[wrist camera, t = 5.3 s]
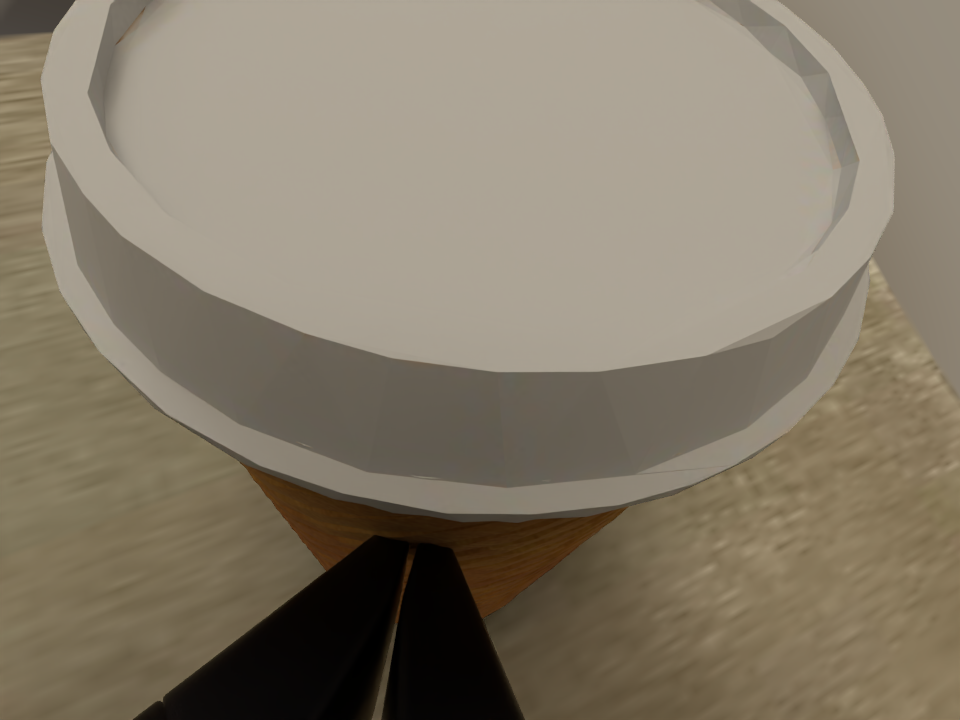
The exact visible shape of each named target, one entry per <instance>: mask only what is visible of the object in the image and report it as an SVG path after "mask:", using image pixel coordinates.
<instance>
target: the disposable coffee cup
mask: <svg viewBox="0 0 960 720" xmlns="http://www.w3.org/2000/svg"><path fill="white" fill-rule="evenodd" d="M41 85H42V92H43V98H44V104H45V111H46V117H47V124H48V130H49V137H50V143H51V147H52V151H51V154H50V156H49V158H48V160H47V162H46V176H45V189H44V203H43V217H42V231H43V235H44V238H45V242H46V245H47V249H48V252H49V256H50V259H51V262H52V266H53V269H54V273H55V276H56V280H57V283H58V287H59V290H60V293H61V294H62V296H63V297H64V299H65V301H66V302H67V304H68V306H69V307H70V309H71V310H72V312H73V314H74V315H75V317H76V318H77V320H78V322H79V323H80V325H81V326H82V328H83V330H84V331H85V333H86V334H87V335H88V337H89V338H90V339H91V341H92V342H93V344H94V345H95V346H96V348H97V349H98V350H99V352H100V353H101V354H102V355H103V356H104V357H105V358H106V359H107V360H108V361H109V362H110V363H111V364H112V365H113V366H114V367H115V368H116V369H117V370H118V371H119V372H120V373H121V374H122V375H123V376H124V378H125V379H126V380H127V381H128V382H129V383H130V384H131V385H132V386H133V387H134V388H135V389H136V390H137V391H138V392H139V393H140V394H141V395H142V396H143V397H144V398H145V399H146V400H147V401H148V402H149V403H150V404H151V405H152V406H153V407H154V408H155V409H156V410H158V411H159V412H161V413H163V414H164V415H166V416H168V417H169V418H171V419H172V420H174V421H176V422H177V423H179V424H180V425H182V426H184V427H185V428H187V429H188V430H190V431H192V432H193V433H195V434H196V435H198V436H200V437H201V438H203V439H204V440H206V441H208V442H209V443H211V444H212V445H214V446H216V447H217V448H219V449H220V450H222V451H224V452H225V453H227V454H228V455H230V456H232V457H233V458H235V459H237V460H238V461H239V462H240V463H241V464H242V465H243V466H244V467H245V468H246V469H247V470H248V472H249V473H250V475H251V476H252V478H253V479H254V481H255V482H256V483H257V484H259V486H260V487H261V489H262V490H263V492H264V493H265V495H266V496H267V497H268V498H269V499H270V500H271V501H272V502H273V504H274V506H275V507H276V509H277V510H278V511H279V512H280V513H281V514H282V516H283V517H284V518H285V519H286V520H287V521H288V523H289V524H290V526H291V527H292V529H293V530H294V531H295V532H296V533H297V534H298V536H299V537H300V539H301V540H302V542H303V543H304V544H306V546H307V547H308V549H309V550H310V551H311V552H312V553H313V555H314V556H315V557H316V558H317V559H318V561H319V562H320V564H321V565H322V566H323V567H324V569H325V570H326V571H327V570H329V569H330V568H331V567H333V566H334V565H335V564H337V563H338V562H339V561H340V560H342V559H343V558H344V557H346V556H347V555H348V554H350V553H351V552H352V551H353V550H355V549H356V548H357V547H359V546H360V545H361V544H363V543H364V542H365V541H366V540H368V539H369V538H370V537H372V536H373V535H378V536H381V537H385V538H389V539H394V540H402V541H407V542H409V544H410V545H409V552H408V558H407V564H406V570H405V576H404V582H403V588H402V593H401V599H400V603H399V608H398V612H397V616H396V621H395V623H397V624H398V619H399V613H400V608H401V603H402V598H403V594H404V590H405V587H406V583H407V580H408V577H409V573H410V570H411V566H412V563H413V559H414V556H415V552H416V549H417V546H418V544H419V543H431V544H435V545H438V546H441V547H448V548H452V549H453V551H454V553H455V555H456V558H457V560H458V562H459V565H460V567H461V569H462V572H463V574H464V577H465V579H466V581H467V584H468V586H469V588H470V591H471V593H472V596H473V598H474V600H475V603H476V605H477V607H478V610H479V612H480V614H481V617H482V618H484V617H486V616H487V615H489V614H491V613H493V612H495V611H496V610H498V609H500V608H501V607H503V606H505V605H506V604H508V603H509V602H510V601H511V600H512V599H513V598H514V597H516V596H517V595H518V594H519V593H520V592H521V591H523V590H524V589H526V588H527V587H528V586H529V585H531V584H532V583H533V582H535V581H536V580H537V579H538V578H539V577H541V576H542V575H543V574H545V573H546V572H548V571H549V570H551V569H552V568H553V567H554V566H555V565H557V564H558V563H559V562H560V561H561V560H562V559H564V558H565V557H566V556H567V555H569V554H570V553H571V552H572V551H573V550H575V549H576V548H577V547H578V546H579V545H580V544H582V543H583V542H584V541H586V540H587V539H589V538H590V537H591V536H593V535H594V534H595V533H597V532H598V531H599V530H600V529H601V528H602V527H604V526H605V525H607V524H608V523H610V522H611V521H613V520H614V519H615V518H616V517H617V516H618V515H620V514H621V513H622V512H623V511H624V510H625V509H626V508H628V507H629V506H632V505H636V504H640V503H644V502H648V501H652V500H656V499H660V498H664V497H668V496H672V495H675V494H677V493H679V492H681V491H683V490H685V489H687V488H690V487H692V486H694V485H696V484H698V483H700V482H702V481H704V480H707V479H709V478H711V477H713V476H715V475H717V474H719V473H721V472H724V471H726V470H728V469H730V468H732V467H734V466H736V465H738V464H741V463H743V462H745V461H747V460H749V459H751V458H753V457H754V456H756V455H757V454H758V453H760V452H761V451H763V450H764V449H765V448H767V447H768V446H769V445H771V444H772V443H774V442H775V441H776V440H778V439H779V438H780V437H782V436H783V435H785V434H786V433H787V432H788V431H789V430H790V429H791V428H792V427H793V426H794V425H795V424H796V423H797V422H798V421H799V420H800V419H801V418H802V417H803V416H804V415H805V414H806V413H807V412H808V411H809V410H810V409H811V408H812V407H813V405H814V404H815V403H816V402H817V401H818V400H819V399H820V398H821V397H822V396H823V395H824V394H825V393H826V392H827V391H828V390H829V389H830V388H831V387H832V386H833V384H834V383H835V381H836V379H837V377H838V375H839V374H840V372H841V370H842V368H843V366H844V365H845V363H846V361H847V359H848V357H849V355H850V354H851V352H852V350H853V348H854V346H855V345H856V343H857V341H858V339H859V334H860V329H861V324H862V319H863V314H864V309H865V304H866V299H867V294H868V289H869V284H870V275H869V261H870V259H871V257H872V255H873V253H874V251H875V249H876V247H877V244H878V243H879V241H880V239H881V236H882V234H883V232H884V230H885V228H886V226H887V224H888V222H889V219H890V218H891V216H892V213H893V211H894V163H895V155H894V151H893V148H892V145H891V142H890V138H889V135H888V132H887V128H886V125H885V122H884V119H883V115H882V114H881V112H880V110H879V108H878V107H877V105H876V103H875V102H874V100H873V98H872V97H871V95H870V93H869V92H868V90H867V88H866V87H865V85H864V84H863V82H862V81H861V80H860V79H859V78H858V76H857V75H856V74H855V73H854V71H853V70H852V69H851V68H850V67H849V65H848V64H847V63H846V62H845V60H844V59H843V58H842V57H841V56H840V54H839V53H838V52H837V51H836V50H835V49H834V47H833V46H832V45H831V44H830V43H829V42H827V41H826V40H825V39H824V38H823V37H821V36H820V35H819V34H818V33H817V32H815V31H814V30H813V29H812V28H811V27H809V26H808V25H807V24H806V23H804V22H803V21H802V20H801V19H800V18H799V17H798V16H796V15H795V14H794V13H793V12H791V11H790V10H789V9H788V8H787V7H786V6H784V5H783V4H782V3H780V2H778V1H777V0H76V1H75V3H74V4H73V5H72V7H71V8H70V9H69V11H68V12H67V13H66V15H65V16H64V17H63V19H62V20H61V21H60V23H59V24H58V26H57V27H56V28H55V30H54V32H53V35H52V39H51V43H50V46H49V50H48V54H47V57H46V61H45V65H44V68H43V72H42V76H41Z"/></svg>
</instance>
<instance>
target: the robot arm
mask: <svg viewBox="0 0 960 720" xmlns="http://www.w3.org/2000/svg"><path fill="white" fill-rule="evenodd" d="M409 545H410V544H409V542H407V541H402V540H394V539H389V538H385V537H381V536H378V535H373V536H372V537H370V538H369V539H368V540H366V541H365V542H364V543H363V544H361V545H360V546H359V547H357V548H356V549H355V550H353V551H352V552H351V553H350V554H348V555H347V556H346V557H344V558H343V559H342V560H340V561H339V562H338V563H337V564H335V565H334V566H333V567H331V568H330V569H329V570H327V571H326V572H325V573H324V574H322V575H321V576H320V577H318V578H317V579H316V580H314V581H313V582H312V583H310V584H309V585H308V586H307V587H305V588H304V589H303V590H301V591H300V592H299V593H297V594H296V595H295V596H294V597H292V598H291V599H290V600H288V601H287V602H286V603H284V604H283V605H282V606H281V607H279V608H278V609H277V610H275V611H274V612H273V613H271V614H270V615H269V616H268V617H266V618H265V619H264V620H262V621H261V622H260V623H258V624H257V625H256V626H254V627H253V628H252V629H251V630H249V631H248V632H247V633H245V634H244V635H243V636H241V637H240V638H239V639H238V640H236V641H235V642H234V643H232V644H231V645H230V646H228V647H227V648H226V649H225V650H223V651H222V652H221V653H219V654H218V655H217V656H215V657H214V658H213V659H212V660H210V661H209V662H208V663H206V664H205V665H204V666H202V667H201V668H200V669H199V670H197V671H196V672H195V673H193V674H192V675H191V676H189V677H188V678H187V679H185V680H184V681H183V682H182V683H180V684H179V685H178V686H176V687H175V688H174V689H172V690H171V691H170V692H169V693H167V694H166V695H165V696H164V698H163V702H161V701H157V702H155V703H154V704H152V705H151V706H150V707H148V708H147V709H146V710H145V711H143V712H142V713H141V714H139V715H138V716H137V717H135V718H134V719H133V720H372V716H373V712H374V709H375V704H376V700H377V696H378V692H379V688H380V683H381V679H382V675H383V671H384V667H385V663H386V658H387V654H388V650H389V646H390V642H391V637H392V633H393V629H394V625H395V621H396V616H397V612H398V608H399V603H400V599H401V593H402V588H403V582H404V576H405V570H406V564H407V558H408V552H409ZM381 720H525V719H524V716H523V714H522V712H521V709H520V707H519V704H518V702H517V700H516V697H515V695H514V693H513V690H512V688H511V686H510V683H509V681H508V678H507V676H506V674H505V671H504V669H503V667H502V664H501V662H500V659H499V657H498V655H497V652H496V650H495V648H494V645H493V643H492V641H491V638H490V636H489V633H488V631H487V629H486V626H485V624H484V622H483V619H482V617H481V614H480V612H479V610H478V607H477V605H476V603H475V600H474V598H473V596H472V593H471V591H470V588H469V586H468V584H467V581H466V579H465V577H464V574H463V572H462V569H461V567H460V565H459V562H458V560H457V558H456V555H455V553H454V551H453V549H452V548H448V547H441V546H438V545H435V544H431V543H419V544H418V546H417V549H416V552H415V556H414V559H413V563H412V566H411V570H410V573H409V577H408V580H407V583H406V587H405V590H404V594H403V598H402V603H401V608H400V613H399V619H398V625H397V631H396V637H395V643H394V648H393V654H392V660H391V666H390V672H389V678H388V683H387V689H386V695H385V701H384V707H383V713H382V718H381Z"/></svg>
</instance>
